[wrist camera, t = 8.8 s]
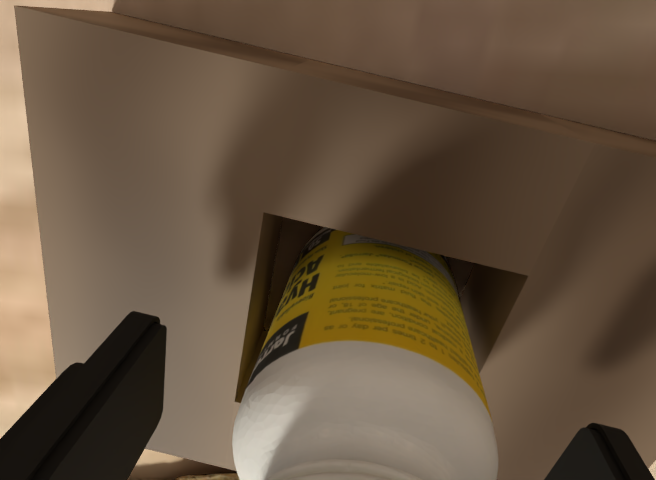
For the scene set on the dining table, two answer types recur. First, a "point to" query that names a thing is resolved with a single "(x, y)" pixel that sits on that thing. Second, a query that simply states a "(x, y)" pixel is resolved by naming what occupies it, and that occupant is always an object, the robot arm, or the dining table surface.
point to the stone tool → (211, 477)
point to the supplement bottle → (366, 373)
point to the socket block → (332, 221)
